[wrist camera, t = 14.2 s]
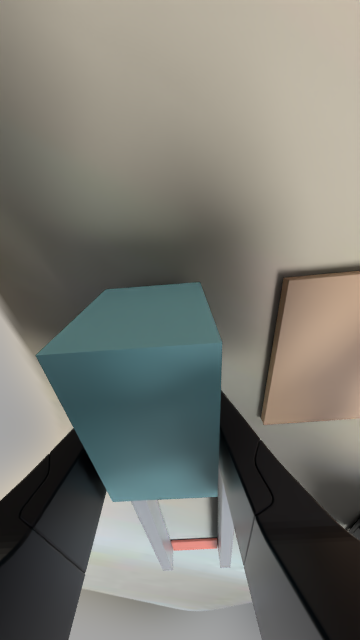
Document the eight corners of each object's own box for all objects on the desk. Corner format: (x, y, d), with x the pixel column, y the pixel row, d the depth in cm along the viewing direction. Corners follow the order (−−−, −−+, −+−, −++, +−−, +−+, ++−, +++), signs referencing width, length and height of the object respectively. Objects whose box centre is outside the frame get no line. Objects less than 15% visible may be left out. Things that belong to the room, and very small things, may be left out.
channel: (234, 437, 14) (241, 464, 13) (226, 545, 25) (230, 567, 24) (123, 444, 15) (117, 471, 13) (164, 548, 26) (163, 570, 24)
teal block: (199, 282, 8) (222, 342, 4) (203, 398, 11) (217, 496, 7) (105, 289, 8) (35, 355, 4) (135, 402, 11) (112, 501, 7)
